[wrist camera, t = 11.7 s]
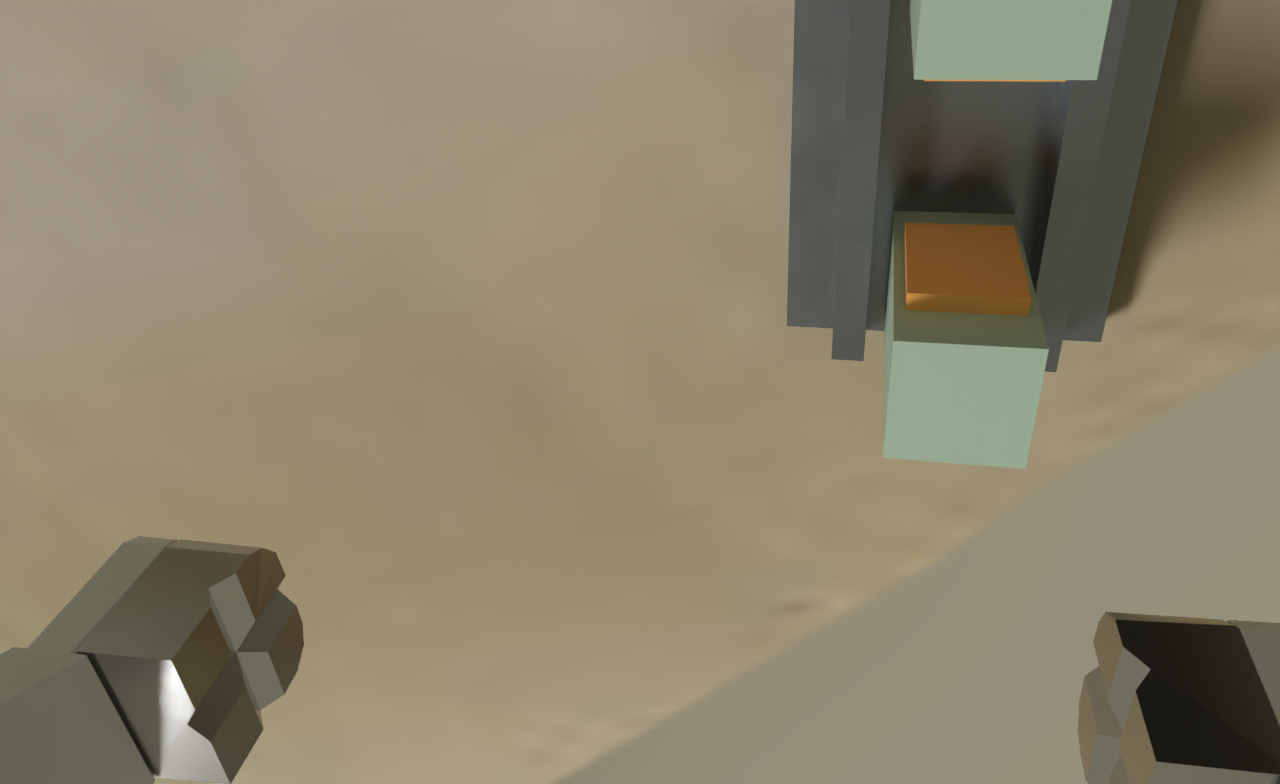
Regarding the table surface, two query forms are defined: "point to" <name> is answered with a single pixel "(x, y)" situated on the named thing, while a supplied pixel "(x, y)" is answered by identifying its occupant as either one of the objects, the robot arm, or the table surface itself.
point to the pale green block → (1008, 39)
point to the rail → (960, 163)
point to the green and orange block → (960, 341)
